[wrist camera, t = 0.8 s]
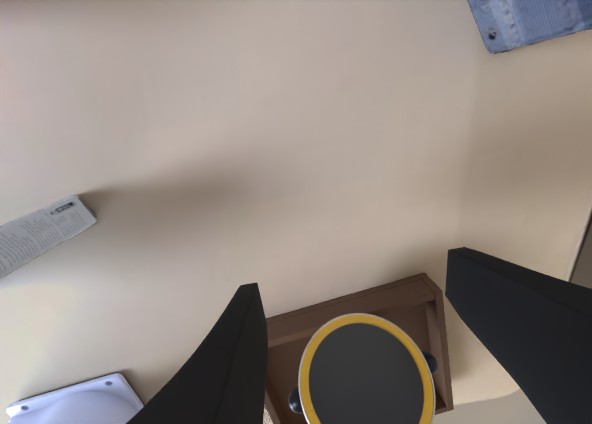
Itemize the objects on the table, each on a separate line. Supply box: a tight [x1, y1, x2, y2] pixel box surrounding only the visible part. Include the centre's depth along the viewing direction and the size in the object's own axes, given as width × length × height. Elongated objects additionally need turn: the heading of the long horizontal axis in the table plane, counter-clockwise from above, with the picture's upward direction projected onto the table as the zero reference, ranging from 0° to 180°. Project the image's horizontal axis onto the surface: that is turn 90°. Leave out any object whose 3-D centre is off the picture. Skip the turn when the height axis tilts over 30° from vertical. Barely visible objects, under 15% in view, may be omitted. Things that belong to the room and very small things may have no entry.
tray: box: [264, 273, 454, 424], centre depth 23 cm, size 15×13×2 cm
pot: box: [288, 313, 438, 424], centre depth 17 cm, size 8×10×10 cm
